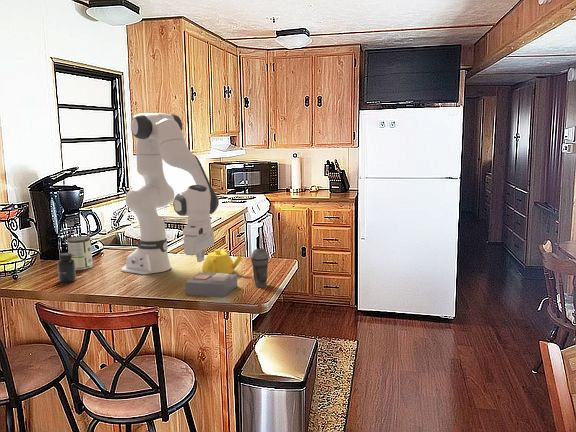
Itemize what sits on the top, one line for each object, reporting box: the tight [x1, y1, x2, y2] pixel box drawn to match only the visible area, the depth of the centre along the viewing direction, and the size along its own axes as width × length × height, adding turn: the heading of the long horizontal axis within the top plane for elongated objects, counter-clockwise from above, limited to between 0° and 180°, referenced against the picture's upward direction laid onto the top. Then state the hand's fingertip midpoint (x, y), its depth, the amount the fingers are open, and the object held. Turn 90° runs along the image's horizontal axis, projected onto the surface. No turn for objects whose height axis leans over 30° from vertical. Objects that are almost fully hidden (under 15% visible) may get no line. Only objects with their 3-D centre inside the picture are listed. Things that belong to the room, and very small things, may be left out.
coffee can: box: [66, 235, 94, 271], centre depth 247 cm, size 10×10×14 cm
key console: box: [184, 272, 238, 298], centre depth 208 cm, size 16×14×5 cm
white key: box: [212, 273, 229, 281], centre depth 206 cm, size 5×5×2 cm
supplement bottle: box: [57, 252, 77, 284], centre depth 225 cm, size 7×7×12 cm
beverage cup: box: [250, 237, 270, 288], centre depth 212 cm, size 7×7×20 cm
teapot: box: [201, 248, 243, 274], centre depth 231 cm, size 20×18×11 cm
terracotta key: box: [194, 275, 211, 280], centre depth 209 cm, size 5×5×2 cm
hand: (200, 261), depth 208 cm, fingers closed
